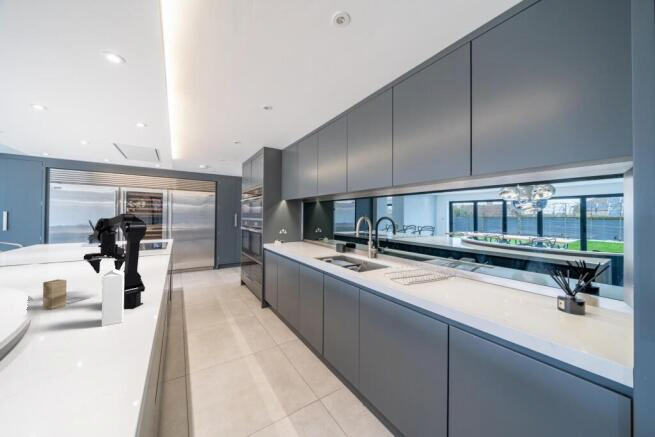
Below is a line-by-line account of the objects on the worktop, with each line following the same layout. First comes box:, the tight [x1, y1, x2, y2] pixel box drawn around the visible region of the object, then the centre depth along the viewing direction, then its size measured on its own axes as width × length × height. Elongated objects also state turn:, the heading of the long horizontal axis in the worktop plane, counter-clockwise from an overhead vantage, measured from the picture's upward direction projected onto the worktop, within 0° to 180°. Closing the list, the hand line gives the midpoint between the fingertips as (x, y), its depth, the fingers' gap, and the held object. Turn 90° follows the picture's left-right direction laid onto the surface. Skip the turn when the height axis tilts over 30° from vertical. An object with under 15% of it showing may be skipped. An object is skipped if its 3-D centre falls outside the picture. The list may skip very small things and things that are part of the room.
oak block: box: [42, 279, 67, 311], centre depth 107 cm, size 5×5×12 cm
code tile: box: [66, 296, 91, 306], centre depth 116 cm, size 10×9×1 cm
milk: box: [101, 265, 125, 327], centre depth 94 cm, size 6×6×22 cm
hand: (107, 273), depth 121 cm, fingers open, 9 cm apart
